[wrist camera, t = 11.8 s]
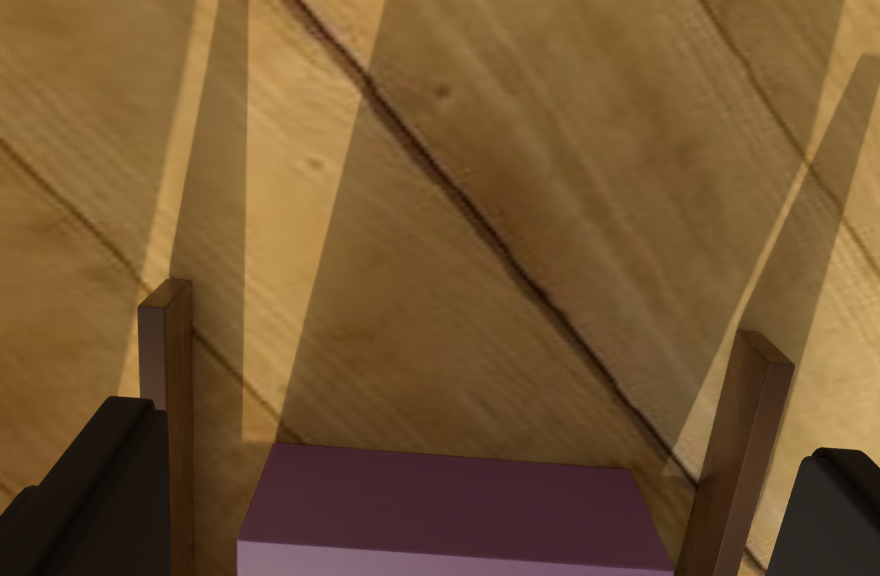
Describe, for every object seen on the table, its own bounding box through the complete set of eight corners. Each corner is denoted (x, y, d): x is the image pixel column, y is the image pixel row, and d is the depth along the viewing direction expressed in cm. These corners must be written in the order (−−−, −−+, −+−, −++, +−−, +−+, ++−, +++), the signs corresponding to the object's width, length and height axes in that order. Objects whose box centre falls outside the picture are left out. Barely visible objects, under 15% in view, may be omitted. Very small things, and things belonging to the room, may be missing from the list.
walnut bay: (165, 277, 23) (135, 306, 21) (760, 331, 24) (796, 364, 21) (173, 655, 28) (149, 713, 26) (667, 690, 29) (688, 749, 26)
